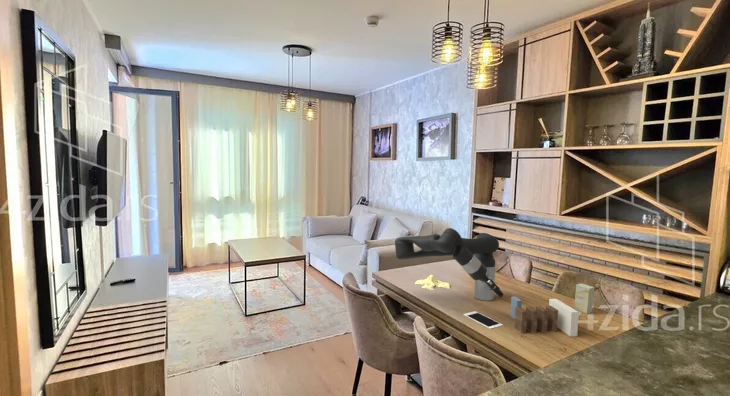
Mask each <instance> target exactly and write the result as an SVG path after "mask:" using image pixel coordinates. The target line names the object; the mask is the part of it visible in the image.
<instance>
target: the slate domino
mask: <svg viewBox="0 0 730 396" xmlns="http://www.w3.org/2000/svg"><path fill="white" fill-rule="evenodd" d="M510 299H511V300H510V317H511V318H512V319H514V320H515V309H516V307H521V308H522V300H521V299H520V298H519V297H517V296H511V297H510Z"/></svg>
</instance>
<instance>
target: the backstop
mask: <svg viewBox="0 0 730 396" xmlns="http://www.w3.org/2000/svg"><path fill="white" fill-rule="evenodd" d="M548 306H552V307H554V308H555V309H557V310H558V323H557V329H559V330H560V331H562V333H565V334H566V335H567V336H569V337H578V329H579V328H578V327H579V312H580V311H578V310H575V309H574V307H573V308H572V307H571V306H569V305H567V304H566V303H564V302H562V301H561V300H559V299H557V298H549V301H548Z"/></svg>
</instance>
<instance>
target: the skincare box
mask: <svg viewBox="0 0 730 396" xmlns="http://www.w3.org/2000/svg"><path fill="white" fill-rule="evenodd" d="M594 294H595V287H594V286H591V285H588V284H585V283H577V284H576V285H575V294H574V306H573V309H575V310H576V311H578V312H580V313H583V314H586V315H587V314H591V313H593V307H594V306H593V305H594Z"/></svg>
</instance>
